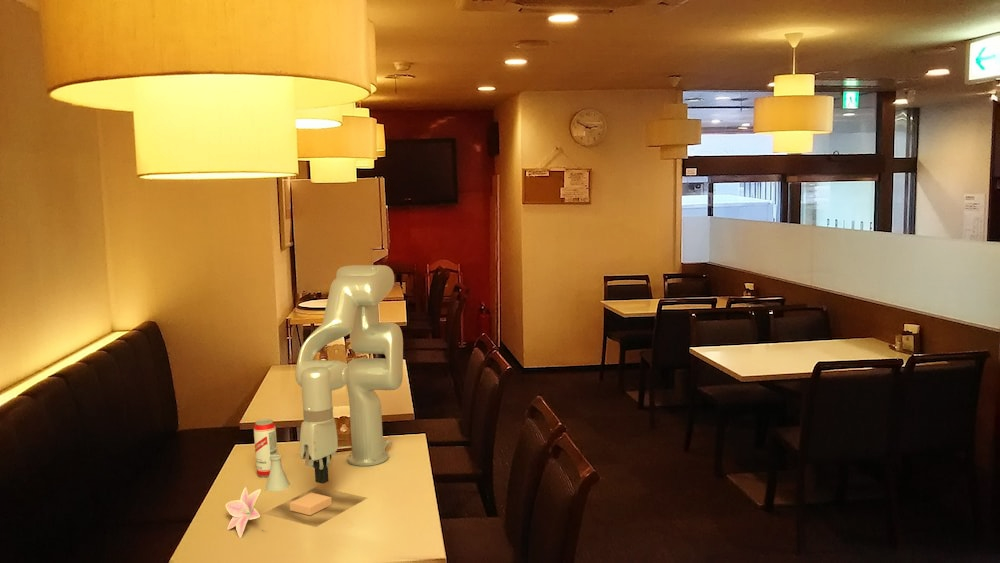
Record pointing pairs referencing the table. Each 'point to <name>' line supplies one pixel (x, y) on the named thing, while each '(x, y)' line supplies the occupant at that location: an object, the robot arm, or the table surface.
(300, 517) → the board
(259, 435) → the beer can
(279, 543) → the table surface
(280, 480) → the flask
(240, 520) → the lily
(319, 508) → the tile
